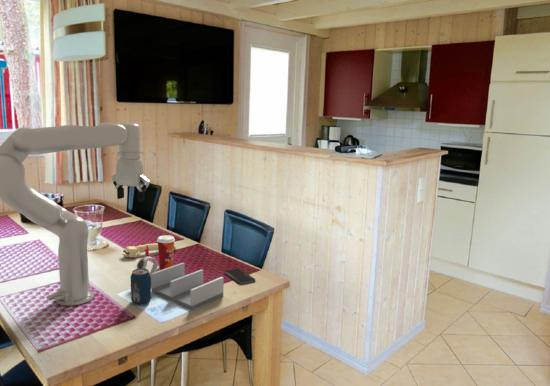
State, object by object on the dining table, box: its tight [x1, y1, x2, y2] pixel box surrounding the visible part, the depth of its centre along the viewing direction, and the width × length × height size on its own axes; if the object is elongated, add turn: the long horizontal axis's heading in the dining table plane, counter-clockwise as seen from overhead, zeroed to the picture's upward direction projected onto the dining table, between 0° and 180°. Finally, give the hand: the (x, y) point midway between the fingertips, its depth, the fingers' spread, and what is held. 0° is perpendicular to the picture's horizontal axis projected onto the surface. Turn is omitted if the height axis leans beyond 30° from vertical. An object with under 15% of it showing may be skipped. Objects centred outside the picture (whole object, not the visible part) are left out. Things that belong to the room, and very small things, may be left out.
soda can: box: [130, 268, 152, 306], centre depth 159 cm, size 7×7×12 cm
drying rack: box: [151, 262, 225, 311], centre depth 168 cm, size 16×23×8 cm
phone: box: [224, 268, 256, 286], centre depth 187 cm, size 8×1×15 cm
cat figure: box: [121, 234, 177, 258], centre depth 210 cm, size 10×9×25 cm
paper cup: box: [156, 234, 176, 270], centre depth 193 cm, size 8×8×14 cm
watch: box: [136, 255, 158, 275], centre depth 176 cm, size 6×8×11 cm
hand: (130, 199), depth 170 cm, fingers open, 9 cm apart
